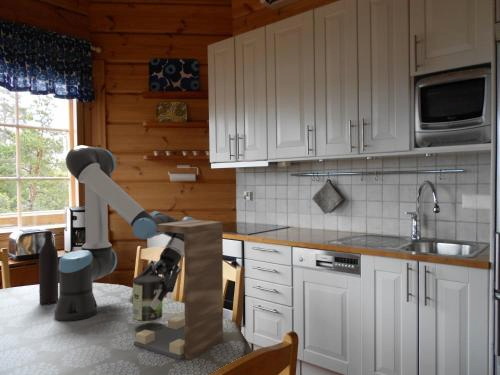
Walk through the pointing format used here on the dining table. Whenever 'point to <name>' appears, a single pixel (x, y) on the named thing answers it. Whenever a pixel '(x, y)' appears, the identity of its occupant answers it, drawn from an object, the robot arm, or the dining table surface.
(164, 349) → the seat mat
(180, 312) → the dining table surface
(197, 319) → the walnut shelf
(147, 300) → the coffee can
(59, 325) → the dining table surface
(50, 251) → the wine bottle
